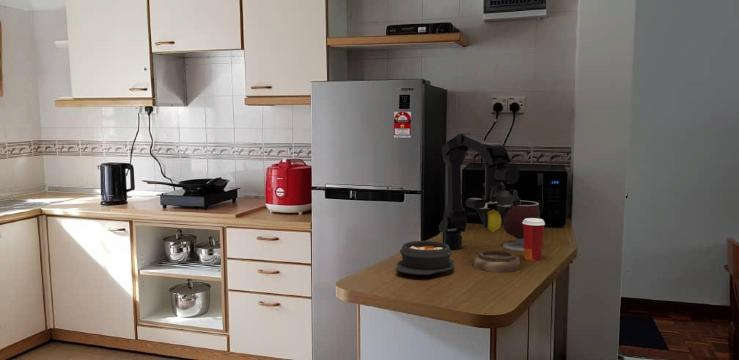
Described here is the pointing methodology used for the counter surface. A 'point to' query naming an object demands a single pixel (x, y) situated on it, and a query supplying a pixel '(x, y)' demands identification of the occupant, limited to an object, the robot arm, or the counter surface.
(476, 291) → the counter surface
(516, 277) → the counter surface
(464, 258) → the counter surface
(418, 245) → the casserole
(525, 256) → the paper cup
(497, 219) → the lemon
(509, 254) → the stand
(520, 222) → the mate gourd
